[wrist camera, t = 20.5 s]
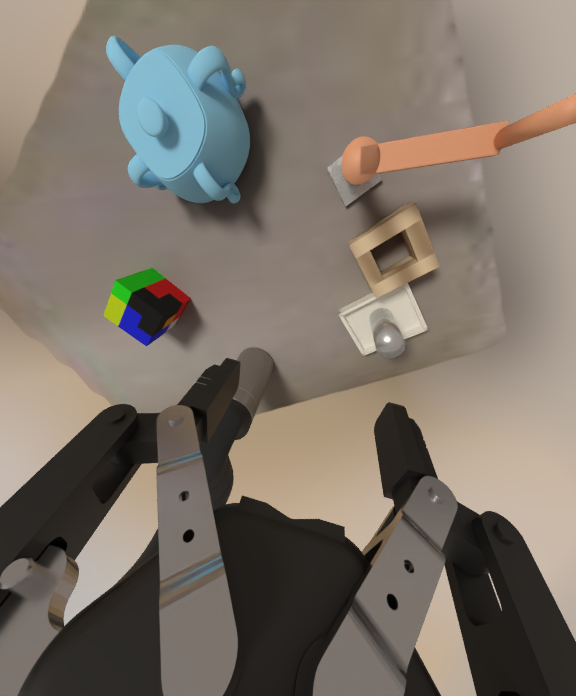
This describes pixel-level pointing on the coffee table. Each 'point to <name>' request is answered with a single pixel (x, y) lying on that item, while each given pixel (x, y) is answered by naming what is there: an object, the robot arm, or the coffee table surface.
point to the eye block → (415, 241)
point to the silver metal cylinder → (386, 334)
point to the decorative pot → (182, 120)
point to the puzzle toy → (145, 305)
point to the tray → (395, 301)
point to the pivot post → (347, 189)
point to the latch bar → (450, 144)
